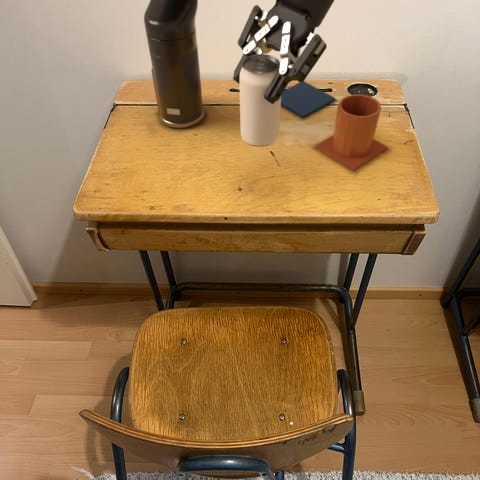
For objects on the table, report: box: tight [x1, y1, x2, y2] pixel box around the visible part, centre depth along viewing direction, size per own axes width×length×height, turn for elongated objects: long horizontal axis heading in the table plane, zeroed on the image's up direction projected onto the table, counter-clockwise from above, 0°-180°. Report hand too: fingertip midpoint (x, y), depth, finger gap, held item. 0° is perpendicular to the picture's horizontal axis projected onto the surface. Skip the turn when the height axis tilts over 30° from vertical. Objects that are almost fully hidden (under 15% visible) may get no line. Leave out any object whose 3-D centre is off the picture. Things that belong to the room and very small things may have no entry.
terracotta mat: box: [315, 135, 389, 172], centre depth 92 cm, size 10×10×1 cm
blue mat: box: [281, 80, 336, 119], centre depth 102 cm, size 10×10×1 cm
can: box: [239, 54, 282, 148], centre depth 73 cm, size 6×6×12 cm
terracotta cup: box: [332, 93, 382, 158], centre depth 88 cm, size 8×8×9 cm
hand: (252, 91), depth 71 cm, fingers closed on can, 6 cm apart
